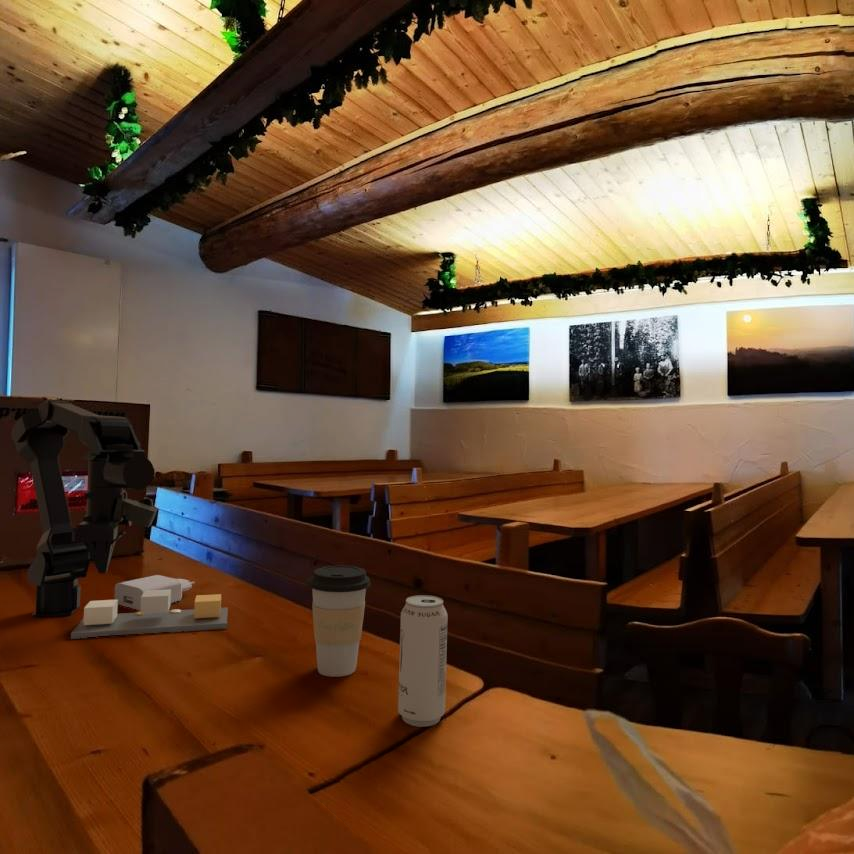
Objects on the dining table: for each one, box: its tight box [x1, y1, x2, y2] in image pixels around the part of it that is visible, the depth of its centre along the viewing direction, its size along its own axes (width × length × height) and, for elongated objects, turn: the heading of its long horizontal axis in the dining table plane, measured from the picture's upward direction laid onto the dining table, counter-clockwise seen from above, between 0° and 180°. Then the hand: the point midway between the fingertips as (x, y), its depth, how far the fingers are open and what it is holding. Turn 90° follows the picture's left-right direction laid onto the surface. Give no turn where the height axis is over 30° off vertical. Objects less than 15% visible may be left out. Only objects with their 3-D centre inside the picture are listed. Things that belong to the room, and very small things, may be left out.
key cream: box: [83, 599, 119, 625], centre depth 106 cm, size 4×4×3 cm
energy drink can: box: [397, 594, 448, 728], centre depth 76 cm, size 6×6×15 cm
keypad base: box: [70, 607, 229, 640], centre depth 109 cm, size 25×10×1 cm, turn 108°
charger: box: [114, 574, 196, 611], centre depth 125 cm, size 5×9×15 cm
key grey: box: [141, 589, 172, 614], centre depth 109 cm, size 4×4×3 cm
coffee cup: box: [307, 565, 371, 678], centre depth 91 cm, size 9×9×15 cm
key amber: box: [193, 593, 222, 618], centre depth 112 cm, size 4×4×3 cm
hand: (102, 573), depth 106 cm, fingers closed
